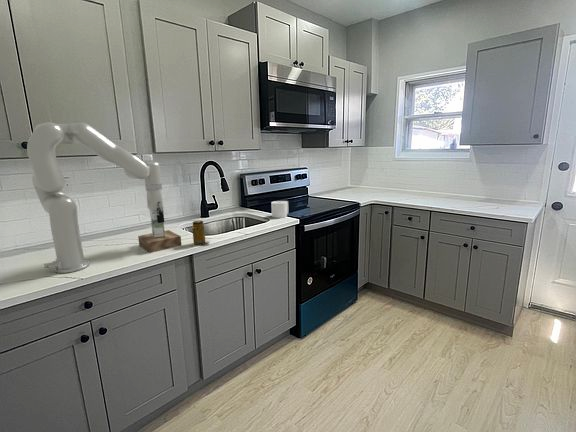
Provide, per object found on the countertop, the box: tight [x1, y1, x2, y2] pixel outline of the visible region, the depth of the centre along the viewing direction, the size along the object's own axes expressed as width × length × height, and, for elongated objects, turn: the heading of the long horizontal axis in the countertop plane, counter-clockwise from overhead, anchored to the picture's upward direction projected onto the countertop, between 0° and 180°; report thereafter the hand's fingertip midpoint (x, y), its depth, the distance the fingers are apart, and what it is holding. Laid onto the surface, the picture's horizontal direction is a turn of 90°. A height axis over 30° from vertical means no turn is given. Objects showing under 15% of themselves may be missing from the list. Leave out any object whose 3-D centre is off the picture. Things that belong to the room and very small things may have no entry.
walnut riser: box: [137, 229, 182, 254], centre depth 165 cm, size 16×16×5 cm
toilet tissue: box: [271, 200, 289, 219], centre depth 224 cm, size 11×12×10 cm
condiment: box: [191, 220, 211, 247], centre depth 166 cm, size 7×8×12 cm
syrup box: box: [149, 209, 166, 238], centre depth 162 cm, size 6×6×14 cm
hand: (157, 220), depth 162 cm, fingers open, 9 cm apart
